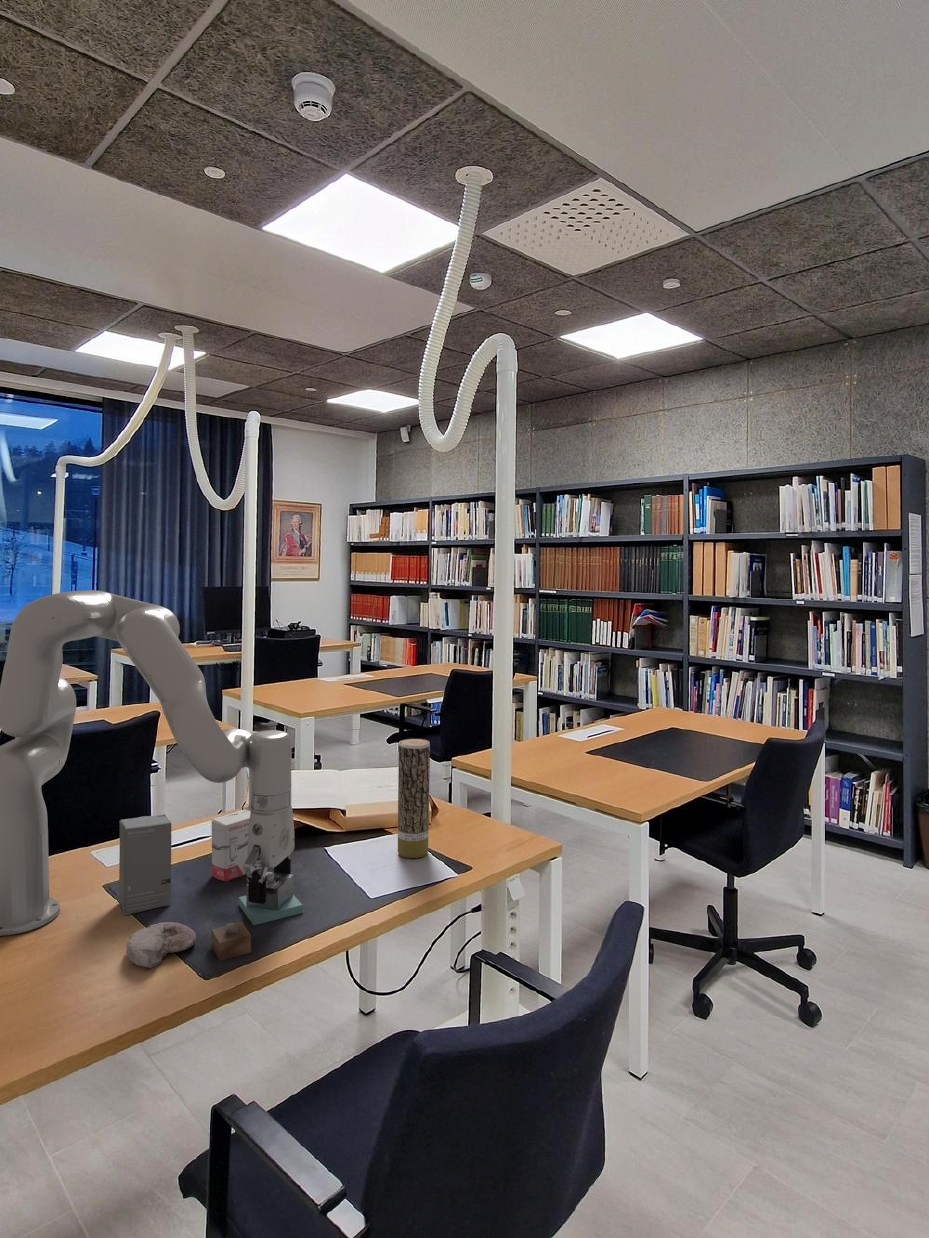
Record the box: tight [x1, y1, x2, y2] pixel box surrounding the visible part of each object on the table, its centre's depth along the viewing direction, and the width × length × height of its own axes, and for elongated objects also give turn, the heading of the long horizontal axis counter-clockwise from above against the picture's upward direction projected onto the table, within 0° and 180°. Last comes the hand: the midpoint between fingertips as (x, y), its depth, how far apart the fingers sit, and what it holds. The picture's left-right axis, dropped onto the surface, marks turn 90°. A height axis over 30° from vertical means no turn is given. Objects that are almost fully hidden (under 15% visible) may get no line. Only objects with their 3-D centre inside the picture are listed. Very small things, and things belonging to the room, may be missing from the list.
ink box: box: [211, 809, 261, 883], centre depth 148 cm, size 9×5×12 cm, turn 143°
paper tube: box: [397, 738, 431, 859], centre depth 159 cm, size 7×7×25 cm
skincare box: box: [118, 814, 172, 916], centre depth 134 cm, size 8×7×16 cm
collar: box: [245, 871, 294, 911], centre depth 133 cm, size 6×6×4 cm
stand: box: [211, 921, 252, 962], centre depth 118 cm, size 5×5×4 cm
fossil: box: [126, 921, 197, 969], centre depth 117 cm, size 12×4×10 cm
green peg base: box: [238, 873, 304, 926], centre depth 133 cm, size 9×9×6 cm
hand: (270, 890), depth 133 cm, fingers open, 9 cm apart
